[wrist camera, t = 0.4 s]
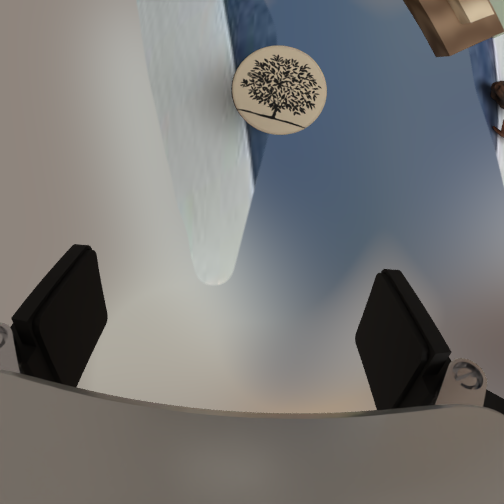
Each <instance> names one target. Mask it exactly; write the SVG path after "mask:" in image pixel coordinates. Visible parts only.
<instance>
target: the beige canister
mask: <svg viewBox="0 0 504 504" xmlns="http://www.w3.org/2000/svg"><path fill="white" fill-rule="evenodd" d="M231 90H232V98H233V102H234V105H235V107H236V109H237V111H238V112H239V114H240V115H241V116H242V117H243V119H244V120H246V121H247V122H248V123H249V124H250V125H251V126H253V127H254V128H256V129H258V130H260V131H263V132H266V133H269V134H276V135H285V134H291V133H295V132H298V131H300V130H303V129H304V128H306V127H308V126H309V125H310V124H312V123H313V122H314V120H316V119H317V117H318V116H319V115H320V113H321V111H322V109H323V107H324V104H325V101H326V95H327V87H326V81H325V78H324V75H323V73H322V71H321V69H320V67H319V66H318V65H317V63H316V62H315V61H314V60H313V59H312V58H311V57H310V56H308V55H307V54H305V53H303V52H302V51H300V50H298V49H295V48H292V47H287V46H269V47H265V48H262V49H259V50H257V51H255V52H253V53H252V54H250V55H249V56H248V57H247V58H245V59H244V61H243V62H242V63H241V64H240V65H239V67H238V68H237V70H236V72H235V74H234V77H233V80H232V88H231Z"/></svg>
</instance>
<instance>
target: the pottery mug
mask: <svg viewBox="0 0 504 504" xmlns="http://www.w3.org/2000/svg"><path fill="white" fill-rule="evenodd" d="M491 90H492V91H491V98H492V99H494V100H495V101H496V102H497V103H498V104H499V106H500V107H501V108H503V109H504V81H500V82H494V83H493V84H492V85H491ZM493 129H494V130H495V131H496V132H497V133H498V134H499V135H500V136H502V137H503V138H504V120H503V125H502V129H501V130H499V129H497V128H496V127H495V126H493Z"/></svg>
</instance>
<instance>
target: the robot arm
mask: <svg viewBox="0 0 504 504" xmlns="http://www.w3.org/2000/svg"><path fill="white" fill-rule="evenodd" d="M12 321H13V324H12V326H11V327H9V326H8V325H7V324H4V323H0V504H504V399H503V398H501V397H499V396H497V395H495V394H493V393H492V392H490V391H488V390H487V389H486V387H487V378H486V375H485V373H484V372H483V370H482V369H481V368H480V367H479V366H478V365H477V364H476V363H474V362H473V361H471V360H468V359H463V358H458V359H454V360H453V361H451V360H450V358H449V355H450V354H451V351H450V349H449V347H448V345H447V344H446V342H445V340H444V339H443V337H442V335H441V333H440V332H439V330H438V328H437V327H436V325H435V323H434V322H433V320H432V319H431V317H430V315H429V314H428V313H427V311H426V309H425V307H424V306H423V304H422V303H421V301H420V300H419V298H418V297H417V295H416V293H415V292H414V290H413V289H412V287H411V286H410V285H409V283H408V281H407V280H406V278H405V277H404V275H403V274H402V272H401V271H400V270H390V269H384V270H382V272H381V273H378V274H377V275H376V278H375V281H374V284H373V287H372V290H371V293H370V296H369V299H368V302H367V304H366V307H365V310H364V313H363V316H362V318H361V321H360V324H359V326H358V329H357V332H356V336H355V341H356V345H357V348H358V351H359V354H360V357H361V360H362V364H363V367H364V369H365V373H366V376H367V379H368V382H369V385H370V388H371V392H372V395H373V398H374V401H375V405H376V408H377V410H374V411H360V412H342V413H312V414H311V413H301V414H299V413H293V414H291V413H254V412H253V413H252V412H236V411H222V410H210V409H199V408H190V407H182V406H174V405H167V404H159V403H153V402H146V401H140V400H134V399H128V398H123V397H118V396H113V395H107V394H103V393H98V392H94V391H89V390H85V389H80V388H76V387H77V385H78V382H79V380H80V378H81V376H82V373H83V371H84V369H85V367H86V365H87V363H88V360H89V358H90V356H91V354H92V352H93V350H94V348H95V345H96V344H97V341H98V339H99V337H100V335H101V333H102V331H103V329H104V327H105V325H106V323H107V310H106V305H105V300H104V295H103V290H102V285H101V279H100V274H99V269H98V262H97V255H96V252H95V251H94V250H92V248H91V247H90V246H89V245H77V244H74V245H73V246H72V247H71V248H70V249H69V250H68V251H67V252H66V253H65V254H64V255H63V257H62V258H61V259H60V260H59V261H58V262H57V263H56V264H55V266H54V267H53V268H52V269H51V270H50V271H49V272H48V274H47V275H46V276H45V277H44V278H43V279H42V281H41V282H40V283H39V284H38V285H37V286H36V288H35V289H34V290H33V292H32V293H31V294H30V295H29V296H28V297H27V299H26V300H25V301H24V302H23V304H22V305H21V306H20V308H19V309H18V310H17V311H16V313H15V314H14V315H13V317H12Z"/></svg>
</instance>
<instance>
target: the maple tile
mask: <svg viewBox="0 0 504 504" xmlns="http://www.w3.org/2000/svg"><path fill="white" fill-rule="evenodd" d="M448 2H449V4H450V5H451V7H452V9H453V11H454V12H455V14H456V16H457V18H458V20H459V21H460V23H461V24H466V23H471V22H474V21H477V20H479V19H482V18H485V17H487V16H490V15H493V14H494V12H493V10H492V8H491V6H490V4H489V2H488V1H487V0H448Z"/></svg>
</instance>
